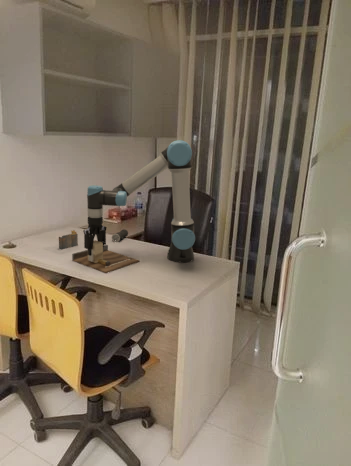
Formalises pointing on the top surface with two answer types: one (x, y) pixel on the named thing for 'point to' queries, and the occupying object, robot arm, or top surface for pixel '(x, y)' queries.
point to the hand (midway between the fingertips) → (95, 259)
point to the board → (114, 258)
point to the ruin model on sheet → (68, 240)
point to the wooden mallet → (98, 253)
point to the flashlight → (119, 235)
